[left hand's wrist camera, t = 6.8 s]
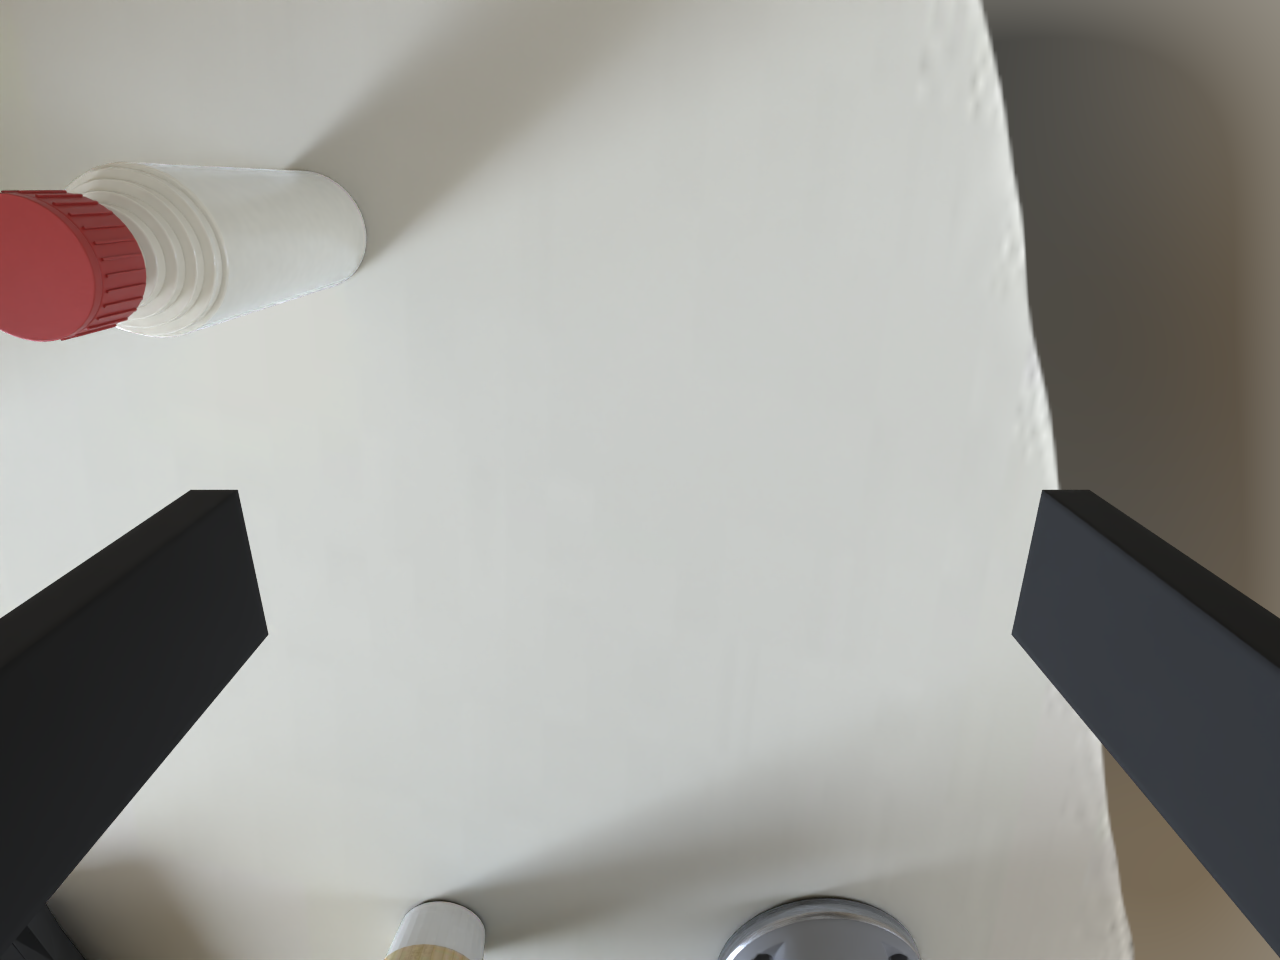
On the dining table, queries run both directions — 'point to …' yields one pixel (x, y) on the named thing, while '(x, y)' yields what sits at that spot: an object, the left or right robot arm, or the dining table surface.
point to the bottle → (227, 238)
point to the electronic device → (42, 941)
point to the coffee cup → (438, 934)
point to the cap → (65, 266)
